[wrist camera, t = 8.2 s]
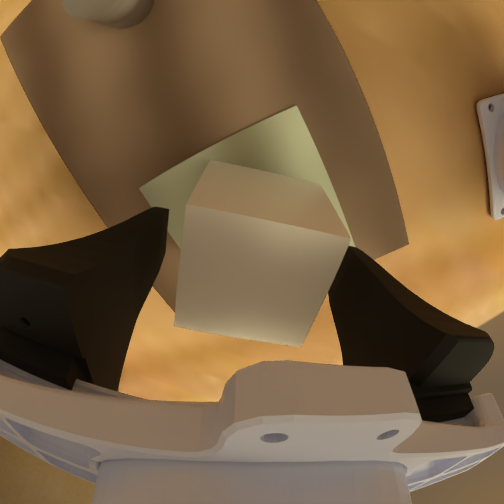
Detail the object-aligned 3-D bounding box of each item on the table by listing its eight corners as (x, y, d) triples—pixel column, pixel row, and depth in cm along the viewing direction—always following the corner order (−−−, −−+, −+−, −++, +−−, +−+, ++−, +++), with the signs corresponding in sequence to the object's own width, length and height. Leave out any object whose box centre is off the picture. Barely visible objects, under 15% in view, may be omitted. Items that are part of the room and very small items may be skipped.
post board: (224, -106, 6) (215, -154, 2) (400, 233, 16) (438, 283, 12) (12, 36, 9) (-45, 40, 5) (193, 316, 19) (180, 375, 15)
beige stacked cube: (320, 184, 13) (351, 238, 9) (290, 273, 16) (301, 346, 11) (210, 159, 13) (185, 204, 8) (194, 255, 15) (173, 326, 11)
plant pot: (28, 255, 17) (-89, 435, 3) (189, 364, 22) (160, 561, 9) (9, 341, 23) (-48, 458, 9) (119, 412, 28) (91, 533, 15)
